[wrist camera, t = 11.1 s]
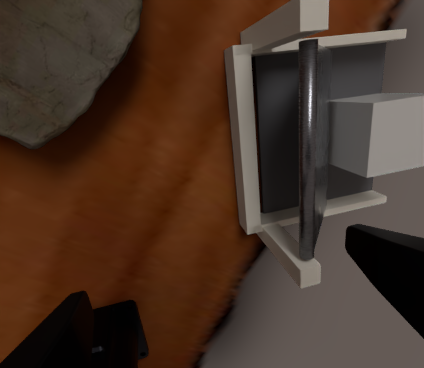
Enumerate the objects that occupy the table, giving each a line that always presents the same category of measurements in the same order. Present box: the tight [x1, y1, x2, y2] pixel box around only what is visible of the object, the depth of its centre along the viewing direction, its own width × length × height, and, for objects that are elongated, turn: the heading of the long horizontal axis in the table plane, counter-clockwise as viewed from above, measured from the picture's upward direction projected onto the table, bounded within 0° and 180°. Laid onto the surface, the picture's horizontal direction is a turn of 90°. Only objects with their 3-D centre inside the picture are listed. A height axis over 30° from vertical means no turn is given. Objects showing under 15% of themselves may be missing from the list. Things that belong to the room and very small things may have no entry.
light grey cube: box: [328, 93, 424, 178], centre depth 20 cm, size 5×5×5 cm
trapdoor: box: [299, 39, 332, 260], centre depth 18 cm, size 8×12×1 cm
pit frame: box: [224, 0, 407, 288], centre depth 19 cm, size 13×16×8 cm
